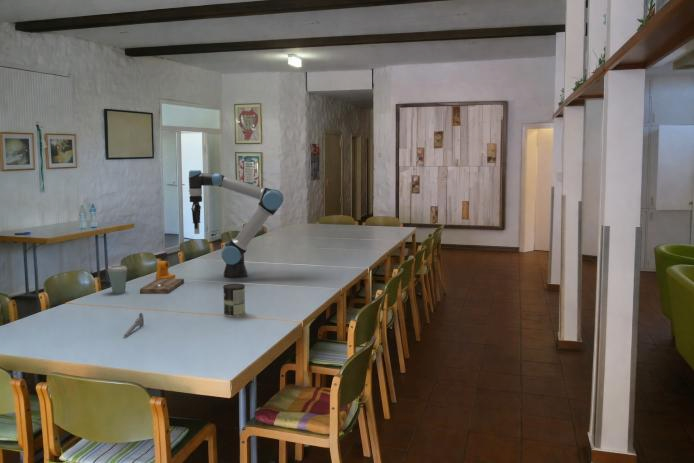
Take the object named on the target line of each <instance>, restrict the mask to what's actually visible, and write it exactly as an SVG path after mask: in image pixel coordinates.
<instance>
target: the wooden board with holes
mask: <svg viewBox="0 0 694 463" xmlns="http://www.w3.org/2000/svg"><path fill="white" fill-rule="evenodd" d="M158 284H161V285H162V286H161V287H156V286H157V285H158ZM183 284H185V278H174V279H156V278H155V280H153V281H151V282H149V283H148V284H145V285H144V286H143V287H141V288H139V294H154V295H155V294H159V295H160V294H161V295H162V294H165V295H166V294H170V293H171V292H173V291H174V290H175V289H177V288H178V287H180V286H182V285H183Z"/></svg>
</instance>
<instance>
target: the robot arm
mask: <svg viewBox="0 0 694 463" xmlns="http://www.w3.org/2000/svg"><path fill="white" fill-rule="evenodd" d="M202 172H203V171H202V170H200V169H199V170H196V169H195V170H193V169H191V170H189V171H188V186H189V187H188V192H189V194H188V195H189V202H190V203H192V205H191V206H192V207H191V215H192V216H191V217H192V224H193V228H194V232H193V233H194V235H200V224H201V208H202V206H201V204H200V203H202V202H203V186H206V187H207V186H209V187H211V186H215V187H219V188H223V189H226V190H229V191H233V192H235V193H238V194H241V195H244V196H247V197H249V198H253V199H255V200H259V202H258V204H257V206H258V207H257V209H256V210H255V212H254V213H253V214H252V215H251V217H250V218H249V220H248V221H247V222H246V224H244V226H243V227H242V229H241V230H240V231H239V232H238V233H237V235H236V237H235V238H231V239H230V240H226V241H225V244H224V246H225V247H224V248H223V250H221V258H222V260H223V262H224V263H225V267H224V270H223V278H226V279H240V278H245V277H247V276H248V271H247V268H246V265H245V253H246V252H247V251H248V248H247V247H248V245H249V244H250V242H252V240H253V239H254V238H255V236H256V234H257V233H258V232H259V231H260V230H261V228H262V227H263V226H264V224H265V222H267V220H268V219H269V217H272V216H275V214H276V212H277V211H278V210H279V209H280V208H281V206H282V205H283V202H284V196H283V193H282V192H281V191H279V190H278V189H274V188H268V187H266V186H264V187H260V186H257V185H254V184H251V183H247V182H245V181H242V180H239V179H237V178H233V177H229V176H227V175H224V174H223V175H222V174H221V173H219V172H211V173H209V172H208V173H205V172H204V173H202Z"/></svg>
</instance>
